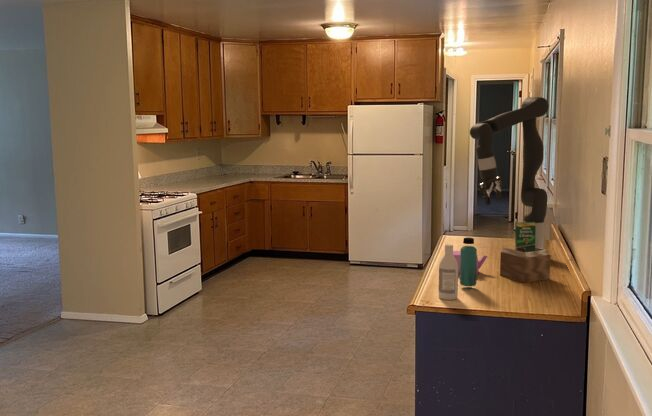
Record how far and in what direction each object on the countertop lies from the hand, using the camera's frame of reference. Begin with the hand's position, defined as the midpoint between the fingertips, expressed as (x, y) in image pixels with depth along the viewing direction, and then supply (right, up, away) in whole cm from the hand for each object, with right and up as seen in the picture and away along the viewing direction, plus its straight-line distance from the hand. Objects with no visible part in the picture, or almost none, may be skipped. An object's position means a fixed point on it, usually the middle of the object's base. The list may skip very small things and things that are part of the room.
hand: (494, 202), depth 288 cm
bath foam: (-31, -36, -52) cm, 70 cm away
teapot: (-16, -31, -13) cm, 37 cm away
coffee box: (+7, -22, -23) cm, 32 cm away
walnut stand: (+7, -31, -22) cm, 39 cm away
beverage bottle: (-21, -34, -38) cm, 55 cm away
